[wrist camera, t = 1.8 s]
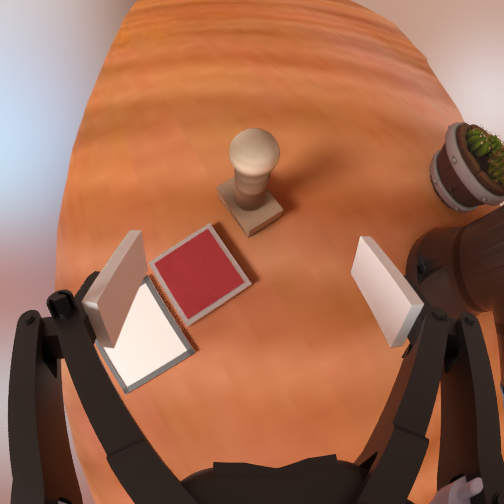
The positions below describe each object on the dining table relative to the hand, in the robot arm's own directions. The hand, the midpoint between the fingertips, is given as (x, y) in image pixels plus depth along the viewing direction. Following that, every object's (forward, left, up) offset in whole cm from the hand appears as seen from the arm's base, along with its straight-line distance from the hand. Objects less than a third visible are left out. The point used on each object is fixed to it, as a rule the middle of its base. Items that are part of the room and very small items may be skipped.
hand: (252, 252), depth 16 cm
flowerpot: (-6, -40, -18) cm, 44 cm away
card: (+3, +15, -18) cm, 23 cm away
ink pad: (+5, +4, -18) cm, 19 cm away
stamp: (+9, -6, -18) cm, 21 cm away
